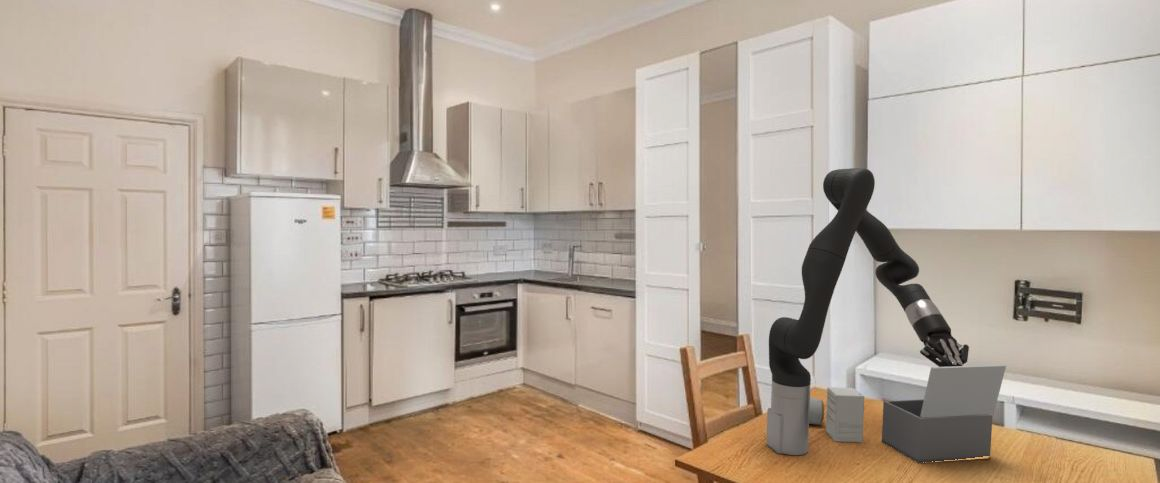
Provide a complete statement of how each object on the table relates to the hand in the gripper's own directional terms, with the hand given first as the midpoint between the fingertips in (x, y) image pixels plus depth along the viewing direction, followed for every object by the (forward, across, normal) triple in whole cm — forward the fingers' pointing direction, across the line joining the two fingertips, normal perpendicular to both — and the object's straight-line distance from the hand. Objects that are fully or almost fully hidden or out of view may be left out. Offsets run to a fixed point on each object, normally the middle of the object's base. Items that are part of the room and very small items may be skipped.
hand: (963, 381), depth 137 cm
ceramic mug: (-7, -22, +37) cm, 43 cm away
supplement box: (+1, -18, +28) cm, 33 cm away
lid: (+2, 0, +2) cm, 2 cm away
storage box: (+9, 0, +20) cm, 22 cm away
